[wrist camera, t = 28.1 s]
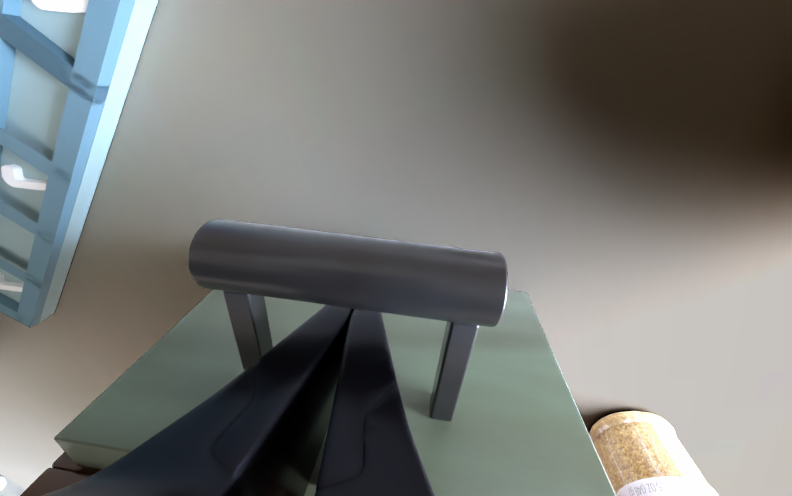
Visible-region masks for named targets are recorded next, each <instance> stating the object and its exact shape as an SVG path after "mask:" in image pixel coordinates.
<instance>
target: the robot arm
mask: <svg viewBox="0 0 792 496" xmlns="http://www.w3.org/2000/svg"><path fill="white" fill-rule="evenodd" d="M326 433H327V435H326ZM325 435H326V440H325V445H324V450H323V455H322V460H321V465H320V470H319V475H318V480H317V485H316V493H315V496H435V495H434V493H433V490H432V487H431V485H430V482H429V480H428V477H427V474H426V472H425V469H424V466H423V464H422V461H421V458H420V456H419V453H418V451H417V448H416V445H415V442H414V439H413V436H412V433H411V430H410V427H409V425H408V421H407V418H406V414H405V410H404V407H403V403H402V399H401V395H400V390H399V387H398V382H397V378H396V374H395V370H394V365H393V361H392V357H391V352H390V348H389V344H388V340H387V335H386V331H385V327H384V322H383V318H382V314H381V312H375V311H368V310H361V309H354V308H346V307H339V306H332V305H325V306H324V307H323V308H322V309H320V310H319V311H318V312H317V313H315V314H314V315H313V316H312V317H310V318H309V319H308V320H307V321H305V322H304V323H303V324H302V325H300V326H299V327H298V328H297V329H295V330H294V331H293V332H292V333H291V334H289V335H288V336H287V337H286V338H284V339H283V340H282V341H281V342H279V343H278V344H277V345H276V346H274V347H273V348H272V349H271V350H269V351H268V352H267V353H266V354H264V355H263V356H262V357H261V358H259V359H258V360H257V361H256V362H255V363H254V364H253V366H252V365H251V366H249V367H248V368H247V369H246V370H244V371H243V372H242V373H241V374H239V375H238V376H237V377H236V378H234V379H233V380H232V381H230V382H229V383H228V384H227V385H225V386H224V387H223V388H221V389H220V390H219V391H217V392H216V393H215V394H213V395H212V396H210V397H209V398H208V399H206V400H205V401H203V402H202V403H201V404H199V405H198V406H196V407H195V408H194V409H192V410H191V411H189V412H188V413H186V414H185V415H183V416H182V417H180V418H179V419H178V420H176V421H175V422H173V423H172V424H170V425H169V426H167V427H166V428H164V429H163V430H161V431H160V432H159V433H157V434H156V435H154V436H153V437H151V438H150V439H148V440H147V441H145V442H144V443H142V444H141V445H139V446H138V447H137V448H135V449H134V450H132V451H131V452H129V453H128V454H126V455H125V456H123V457H122V458H120V459H119V460H117V461H116V462H114V463H112V464H111V465H109V466H107V467H106V468H104V469H102V470H100V471H99V472H97V473H95V474H93V475H91V476H89V477H87V478H85V479H83V480H81V481H79V482H77V483H74V484H72V485H70V486H67V487H65V488H62V489H59V490H57V491H54V492H51V493H48V494H45V495H42V496H304V495H305V492H306V489H307V487H308V484H309V481H310V478H311V475H312V472H313V470H314V467H315V464H316V461H317V458H318V455H319V453H320V450H321V447H322V444H323V441H324V438H325Z"/></svg>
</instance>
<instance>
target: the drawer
mask: <svg viewBox="0 0 792 496" xmlns="http://www.w3.org/2000/svg"><path fill="white" fill-rule="evenodd" d="M188 260H189V269H190V273H191V276H192V278H193V279H194V281H195V282H196V283H197V284H198V285H200V286H201V287H203V288H207V289H214V290H212V291H211V292H210V293H209V294H208V295H207V296H206V297H205V298H204V299H203V300H202V301H201V302H200V303H199V304H197V305H196V306H195V307H194V308H193V309H192V310H191V311H190V312H189V313H188V314H187V315H186V316H185V317H183V318H182V319H181V320H180V321H179V322H178V323H177V324H176V325H175V326H174V327H173V328H172V329H171V330H169V331H168V332H167V333H166V334H165V335H164V336H163V337H162V338H161V339H160V340H159V341H158V342H157V343H155V344H154V345H153V346H152V347H151V348H150V349H149V350H148V351H147V352H146V353H145V354H144V355H143V356H142V357H140V358H139V359H138V360H137V361H136V362H135V363H134V364H133V365H132V366H131V367H130V368H129V369H128V370H126V371H125V372H124V373H123V374H122V375H121V376H120V377H119V378H118V379H117V380H116V381H115V382H114V383H112V384H111V385H110V386H109V387H108V388H107V389H106V390H105V391H104V392H103V393H102V394H101V395H100V396H98V397H97V398H96V399H95V400H94V401H93V402H92V403H91V404H90V405H89V406H88V407H87V408H86V409H85V410H83V411H82V412H81V413H80V414H79V415H78V416H77V417H76V418H75V419H74V420H73V421H72V422H71V423H69V424H68V425H67V426H66V427H65V428H64V429H63V430H62V431H61V432H60V433H59V434H58V435H57V436H56V437H55V438H54V440H55V441H56V442H57V443H58V444H59V445H60V447H61V448H62V449H63V450H64V451H65V452H66V453H67V455H68V456H69V457H70V458H71V459H72V460H73V461H74V462H75V464H76V465H82V466H87V467H93V468H98V469H104V468H106V467H107V466H109V465H111V464H112V463H114V462H116V461H117V460H119V459H120V458H122V457H123V456H125V455H126V454H128V453H129V452H131V451H132V450H134V449H135V448H137V447H138V446H139V445H141V444H142V443H144V442H145V441H147V440H148V439H150V438H151V437H153V436H154V435H156V434H157V433H159V432H160V431H161V430H163V429H164V428H166V427H167V426H169V425H170V424H172V423H173V422H175V421H176V420H178V419H179V418H180V417H182V416H183V415H185V414H186V413H188V412H189V411H191V410H192V409H194V408H195V407H196V406H198V405H199V404H201V403H202V402H203V401H205V400H206V399H208V398H209V397H210V396H212V395H213V394H215V393H216V392H217V391H219V390H220V389H221V388H223V387H224V386H225V385H227V384H228V383H229V382H230V381H232V380H233V379H234V378H236V377H237V376H238V375H239V374H241V373H242V372H243V371H244V370H246V369H247V368H248V367H249V366H251V365H252V366H253V364H254V363H255V362H256V361H257V360H258V359H259V358H261V357H262V356H263V355H264V354H266V353H267V352H268V351H269V350H271V349H272V348H273V347H274V346H276V345H277V344H278V343H279V342H281V341H282V340H283V339H284V338H286V337H287V336H288V335H289V334H291V333H292V332H293V331H294V330H295V329H297V328H298V327H299V326H300V325H302V324H303V323H304V322H305V321H307V320H308V319H309V318H310V317H312V316H313V315H314V314H315V313H317V312H318V311H319V310H320V309H322V308H323V307H324V306H325V305H332V306H339V307H346V308H354V309H361V310H368V311H375V312H381V314H382V318H383V322H384V327H385V331H386V335H387V340H388V344H389V348H390V352H391V357H392V361H393V365H394V370H395V374H396V378H397V382H398V387H399V390H400V395H401V399H402V403H403V407H404V410H405V414H406V418H407V421H408V425H409V427H410V430H411V433H412V436H413V439H414V442H415V445H416V448H417V451H418V453H419V456H420V458H421V461H422V464H423V466H424V469H425V472H426V474H427V477H428V480H429V482H430V485H431V487H432V490H433V493H434V495H435V496H616V494H615V492H614V490H613V488H612V485H611V483H610V481H609V478H608V476H607V474H606V472H605V469H604V467H603V465H602V463H601V460H600V458H599V456H598V453H597V451H596V449H595V447H594V444H593V442H592V440H591V438H590V435H589V433H588V431H587V428H586V426H585V424H584V422H583V419H582V417H581V415H580V413H579V410H578V408H577V406H576V403H575V401H574V399H573V397H572V394H571V392H570V390H569V388H568V385H567V383H566V381H565V378H564V376H563V374H562V372H561V369H560V367H559V365H558V363H557V360H556V358H555V356H554V353H553V351H552V349H551V347H550V344H549V342H548V340H547V338H546V335H545V333H544V331H543V328H542V326H541V324H540V322H539V319H538V317H537V315H536V313H535V310H534V308H533V306H532V303H531V301H530V299H529V297H528V294H527V293H526V292H520V291H512V290H508V272H507V265H506V261H505V258H504V256H503V255H502V254H500V253H496V252H488V251H480V250H471V249H463V248H455V247H447V246H439V245H430V244H422V243H414V242H406V241H397V240H389V239H381V238H373V237H364V236H356V235H348V234H340V233H331V232H323V231H315V230H307V229H298V228H290V227H282V226H274V225H265V224H257V223H249V222H241V221H232V220H224V219H214V220H211V221H208V222H206V223H205V224H204V225H203V226H201V227H200V229H199V230H198V231H197V233H196V234H195V236H194V238H193V240H192V243H191V246H190V250H189V258H188ZM326 435H327V433H326ZM326 435H325V438H324V441H323V444H322V447H321V450H320V453H319V455H318V458H317V461H316V464H315V467H314V470H313V472H312V475H311V478H310V481H309V484H308V487H307V489H306V492H305V495H304V496H315V493H316V485H317V480H318V475H319V470H320V465H321V460H322V455H323V450H324V445H325V440H326Z"/></svg>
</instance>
